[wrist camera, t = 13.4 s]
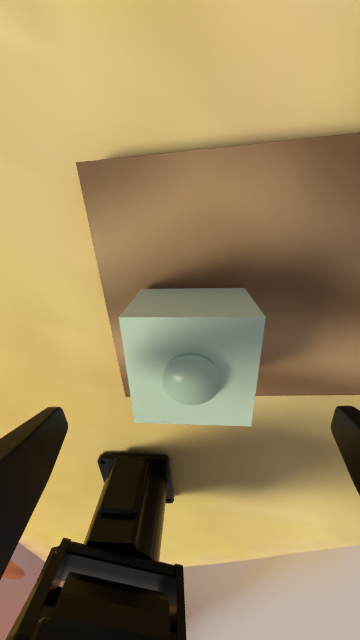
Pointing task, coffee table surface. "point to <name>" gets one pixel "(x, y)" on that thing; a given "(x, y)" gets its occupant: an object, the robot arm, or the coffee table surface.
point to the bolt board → (243, 246)
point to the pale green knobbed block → (192, 355)
